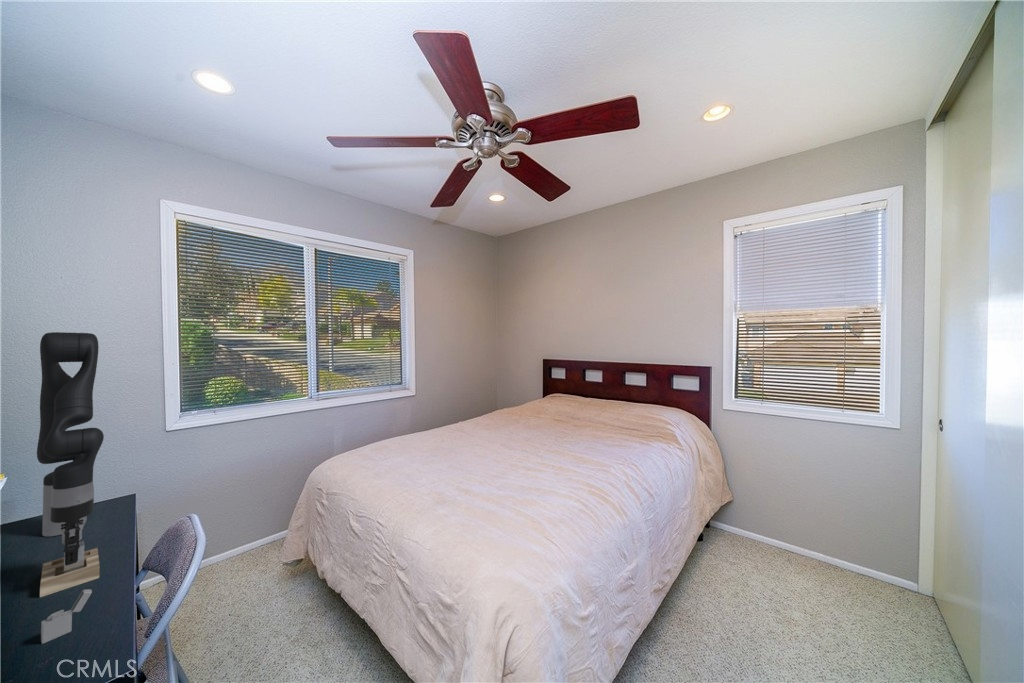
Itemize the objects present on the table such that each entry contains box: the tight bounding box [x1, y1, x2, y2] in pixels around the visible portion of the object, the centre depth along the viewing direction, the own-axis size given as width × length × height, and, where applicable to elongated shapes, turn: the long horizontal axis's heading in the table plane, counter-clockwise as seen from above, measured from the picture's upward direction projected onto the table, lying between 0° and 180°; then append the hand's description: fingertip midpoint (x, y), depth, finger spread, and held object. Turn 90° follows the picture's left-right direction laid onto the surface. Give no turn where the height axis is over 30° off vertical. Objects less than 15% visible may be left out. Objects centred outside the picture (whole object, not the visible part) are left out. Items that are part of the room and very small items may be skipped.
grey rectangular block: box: [63, 540, 85, 574], centre depth 98 cm, size 4×4×9 cm
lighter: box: [40, 588, 93, 645], centre depth 81 cm, size 7×2×8 cm, turn 149°
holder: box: [39, 547, 100, 598], centre depth 99 cm, size 14×10×3 cm
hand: (71, 557), depth 98 cm, fingers open, 8 cm apart
